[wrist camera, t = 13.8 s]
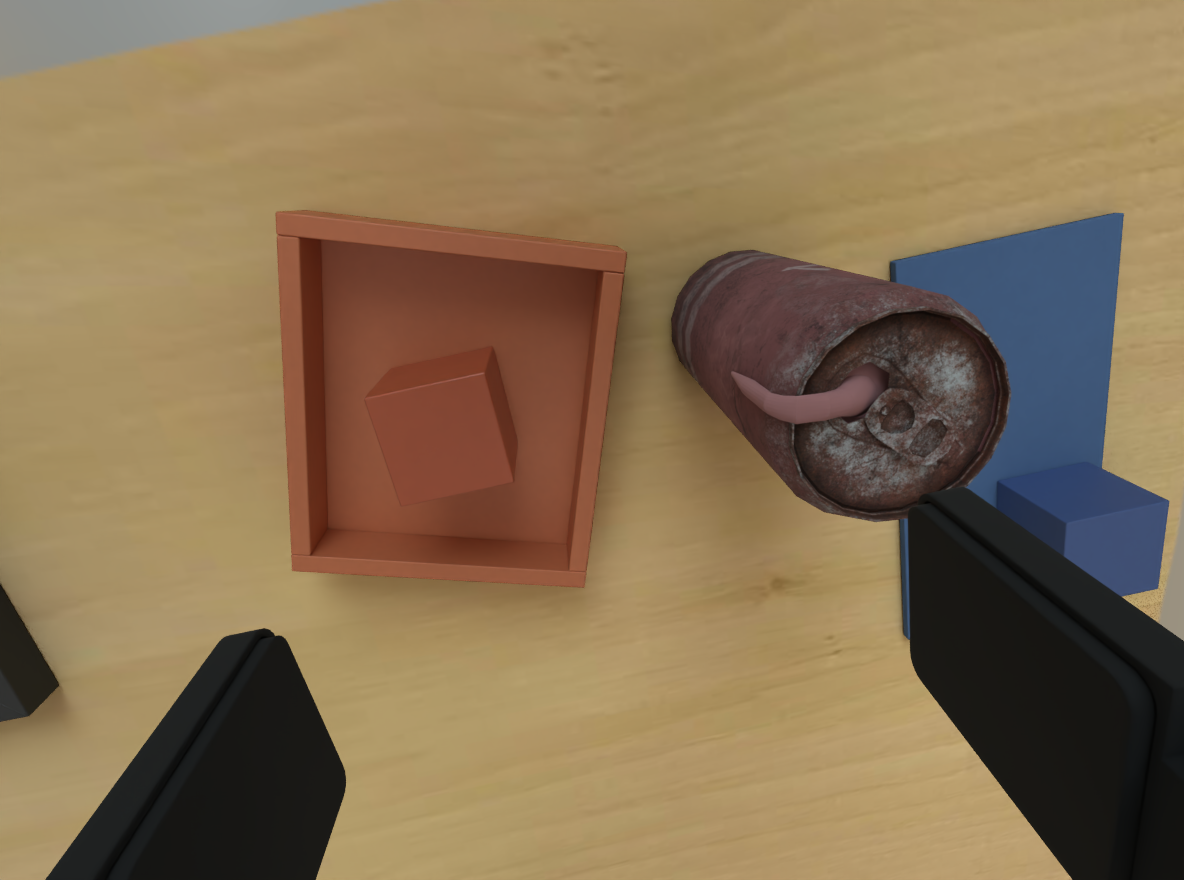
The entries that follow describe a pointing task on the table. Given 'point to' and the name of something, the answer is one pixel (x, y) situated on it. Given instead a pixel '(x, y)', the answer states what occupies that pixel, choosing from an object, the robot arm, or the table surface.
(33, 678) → the picture frame
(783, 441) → the can
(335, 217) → the terracotta tray
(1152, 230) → the table surface
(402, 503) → the terracotta block
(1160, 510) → the blue block
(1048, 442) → the blue mat
